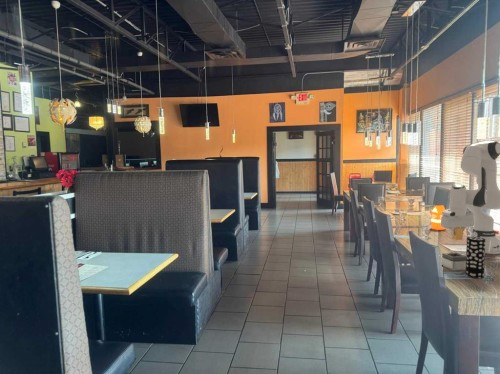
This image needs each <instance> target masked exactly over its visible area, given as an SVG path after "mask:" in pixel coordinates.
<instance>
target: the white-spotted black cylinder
mask: <svg viewBox="0 0 500 374" xmlns="http://www.w3.org/2000/svg"><path fill="white" fill-rule="evenodd" d="M465 254H466V270H465V277H468V278H471V279H483V278H484V277H485V255H486V253H485V239H484V238H480V237H473V236H467V237H466V250H465Z"/></svg>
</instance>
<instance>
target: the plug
mask: <svg viewBox="0 0 500 374" xmlns="http://www.w3.org/2000/svg"><path fill="white" fill-rule="evenodd" d="M453 231H454V232H455V235H451V240H455V241H462V240H463V237H464V236H463V235H464V231H463V228H461V227H457V228H454V229H453Z"/></svg>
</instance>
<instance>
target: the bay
mask: <svg viewBox="0 0 500 374" xmlns="http://www.w3.org/2000/svg"><path fill="white" fill-rule="evenodd" d="M440 256H441V259H442V264H443V266H442V267H444V268H446V269H447V270H451V271H454V272H455V271H466V253H464V254H463V253H458V252H444V253H442V252H441V255H440Z"/></svg>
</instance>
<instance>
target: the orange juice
mask: <svg viewBox="0 0 500 374" xmlns="http://www.w3.org/2000/svg"><path fill="white" fill-rule="evenodd" d="M445 210H446V209H445V206H444V205H443V204H442V205H434V206H433V209H432V210H431V219H430V221H431V222H430V223H431V224H430V228H431V229H433V230H437V231H439V230H447V228H442V227H441V217H442V216H443V215H442V211H445Z"/></svg>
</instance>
